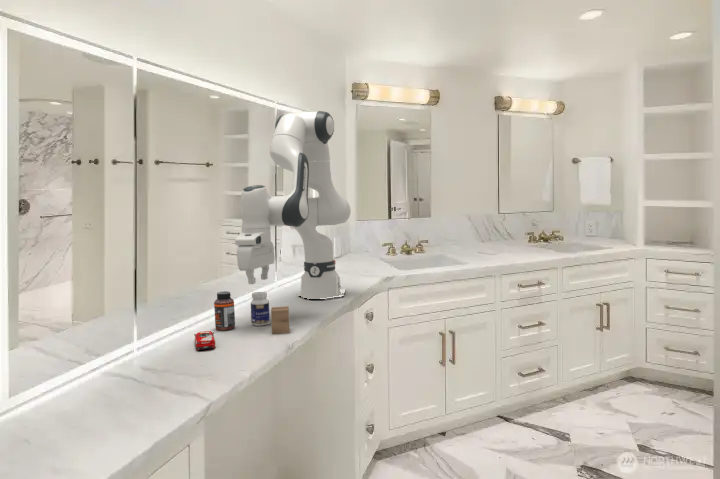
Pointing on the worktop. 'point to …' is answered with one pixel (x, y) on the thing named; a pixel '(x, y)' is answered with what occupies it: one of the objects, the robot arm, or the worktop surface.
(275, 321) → the walnut block
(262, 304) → the pill bottle
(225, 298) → the supplement bottle
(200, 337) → the race car
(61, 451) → the worktop surface
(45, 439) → the worktop surface
